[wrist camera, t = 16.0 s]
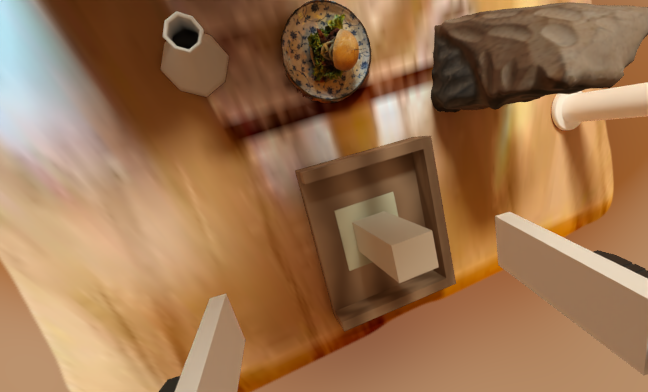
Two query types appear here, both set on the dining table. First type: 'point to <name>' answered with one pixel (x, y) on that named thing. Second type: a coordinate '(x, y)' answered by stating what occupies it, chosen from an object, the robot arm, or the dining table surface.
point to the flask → (192, 56)
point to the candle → (600, 105)
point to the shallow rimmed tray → (365, 200)
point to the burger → (325, 51)
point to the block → (396, 245)
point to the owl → (532, 53)
